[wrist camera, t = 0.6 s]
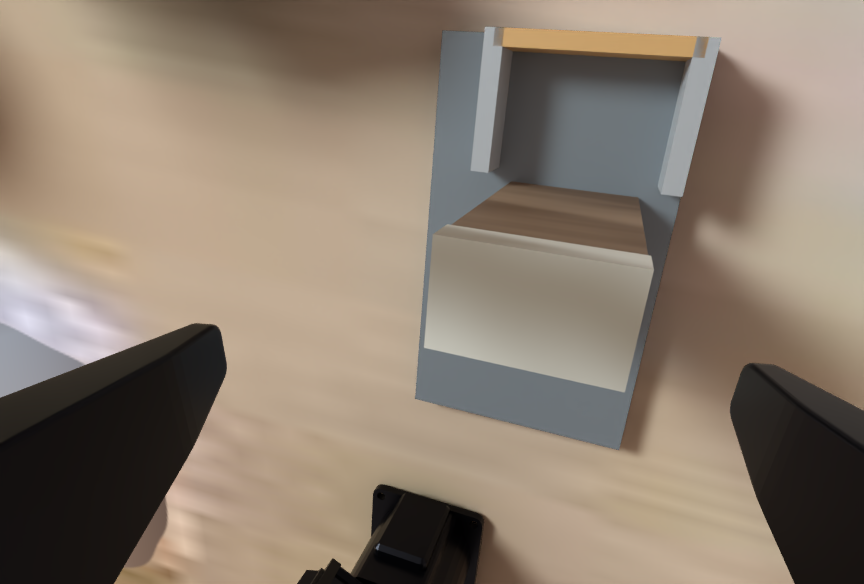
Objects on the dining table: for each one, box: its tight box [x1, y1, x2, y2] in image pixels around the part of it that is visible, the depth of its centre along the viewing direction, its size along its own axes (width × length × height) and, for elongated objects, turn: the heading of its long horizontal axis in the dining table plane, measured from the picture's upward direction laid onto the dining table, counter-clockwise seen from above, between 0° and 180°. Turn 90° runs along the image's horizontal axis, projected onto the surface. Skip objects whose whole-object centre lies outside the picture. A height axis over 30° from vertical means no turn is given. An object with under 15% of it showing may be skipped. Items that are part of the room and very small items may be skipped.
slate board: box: [415, 27, 721, 450], centre depth 22 cm, size 17×10×3 cm, turn 175°
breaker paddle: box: [424, 181, 654, 392], centre depth 17 cm, size 3×5×10 cm, turn 85°
